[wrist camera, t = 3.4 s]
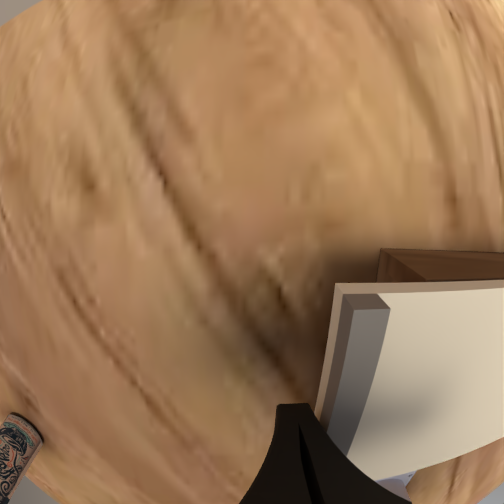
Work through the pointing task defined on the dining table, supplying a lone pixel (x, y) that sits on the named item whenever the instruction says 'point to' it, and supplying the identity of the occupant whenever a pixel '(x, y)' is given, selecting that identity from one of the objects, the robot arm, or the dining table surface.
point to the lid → (413, 373)
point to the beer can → (16, 453)
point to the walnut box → (438, 266)
